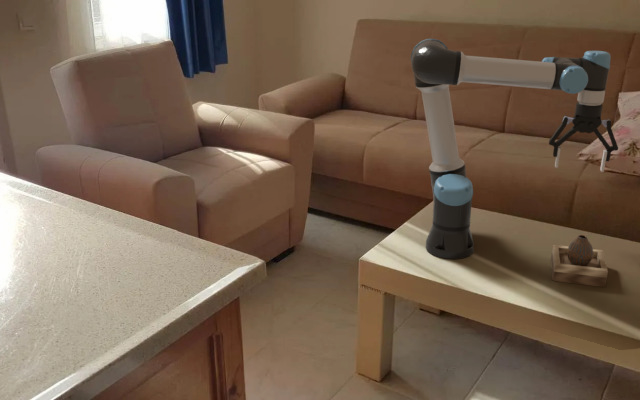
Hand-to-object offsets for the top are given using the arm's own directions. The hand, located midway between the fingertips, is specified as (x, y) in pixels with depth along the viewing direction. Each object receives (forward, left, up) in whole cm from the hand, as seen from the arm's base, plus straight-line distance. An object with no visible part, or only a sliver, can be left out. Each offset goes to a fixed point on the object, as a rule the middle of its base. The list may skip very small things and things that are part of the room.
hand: (578, 168), depth 199 cm
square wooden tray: (-10, -24, -24) cm, 35 cm away
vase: (-10, -24, -21) cm, 34 cm away
